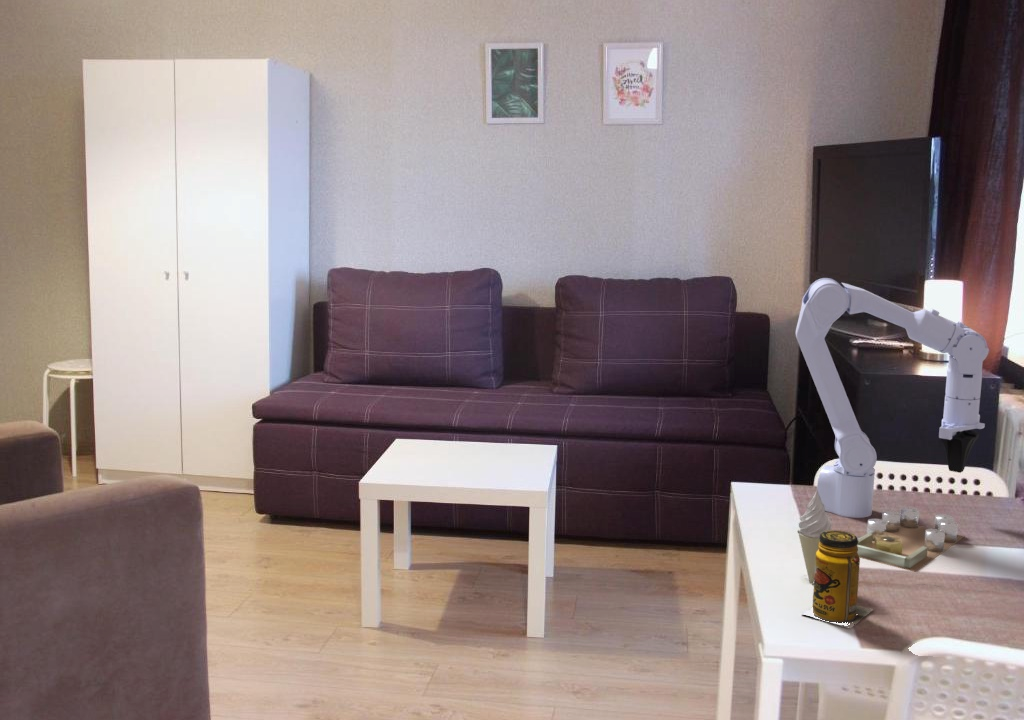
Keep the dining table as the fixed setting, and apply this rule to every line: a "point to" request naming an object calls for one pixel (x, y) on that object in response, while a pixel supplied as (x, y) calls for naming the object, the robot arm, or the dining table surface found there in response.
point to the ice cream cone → (812, 532)
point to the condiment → (837, 579)
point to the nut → (888, 544)
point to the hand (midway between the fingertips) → (956, 471)
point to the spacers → (909, 519)
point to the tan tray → (911, 549)
